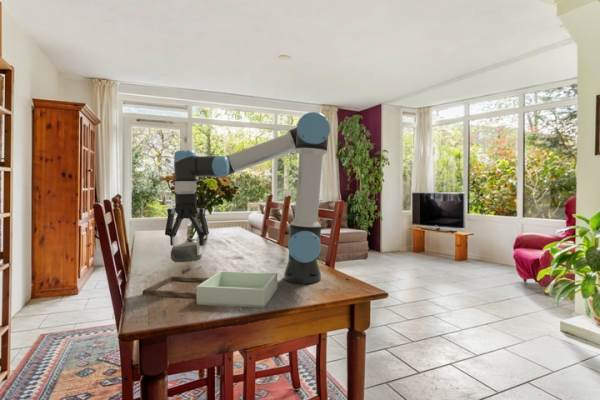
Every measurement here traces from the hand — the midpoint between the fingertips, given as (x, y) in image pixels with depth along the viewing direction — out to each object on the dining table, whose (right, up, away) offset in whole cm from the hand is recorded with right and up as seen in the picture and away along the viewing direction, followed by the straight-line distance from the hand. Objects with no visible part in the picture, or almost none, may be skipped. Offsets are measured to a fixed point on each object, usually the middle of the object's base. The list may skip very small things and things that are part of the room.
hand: (187, 254), depth 127 cm
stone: (0, -3, -1) cm, 3 cm away
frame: (-1, -13, 0) cm, 13 cm away
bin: (+21, -13, -8) cm, 26 cm away
